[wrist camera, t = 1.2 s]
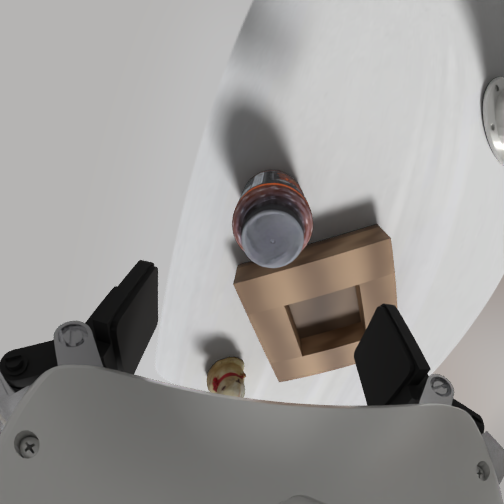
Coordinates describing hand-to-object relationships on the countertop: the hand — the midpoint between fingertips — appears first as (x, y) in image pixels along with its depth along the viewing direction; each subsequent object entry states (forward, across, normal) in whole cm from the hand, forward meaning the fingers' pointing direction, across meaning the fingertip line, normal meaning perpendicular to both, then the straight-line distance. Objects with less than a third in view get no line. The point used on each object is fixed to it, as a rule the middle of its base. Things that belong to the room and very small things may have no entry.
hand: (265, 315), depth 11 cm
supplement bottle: (+19, 0, 0) cm, 19 cm away
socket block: (+18, -9, +11) cm, 23 cm away
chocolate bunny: (+19, +1, +26) cm, 32 cm away
